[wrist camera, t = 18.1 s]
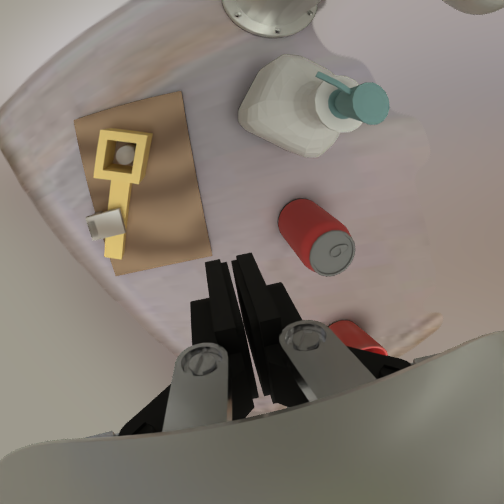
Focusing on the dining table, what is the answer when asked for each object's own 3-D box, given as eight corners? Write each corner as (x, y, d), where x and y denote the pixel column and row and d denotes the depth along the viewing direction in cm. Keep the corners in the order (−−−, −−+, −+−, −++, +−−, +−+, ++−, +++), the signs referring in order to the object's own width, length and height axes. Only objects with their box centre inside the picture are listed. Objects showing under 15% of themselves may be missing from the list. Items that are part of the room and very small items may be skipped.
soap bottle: (263, 60, 35) (342, 7, 14) (325, 95, 38) (443, 89, 18) (229, 123, 38) (276, 130, 17) (294, 155, 41) (392, 198, 21)
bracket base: (77, 120, 33) (56, 121, 27) (181, 91, 35) (179, 86, 29) (118, 271, 43) (108, 296, 37) (211, 251, 44) (215, 274, 38)
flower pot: (361, 349, 59) (383, 381, 50) (310, 363, 57) (327, 400, 49) (366, 306, 54) (393, 338, 46) (310, 321, 53) (331, 358, 44)
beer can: (326, 228, 46) (365, 263, 36) (287, 249, 46) (316, 290, 36) (311, 189, 43) (350, 215, 33) (269, 210, 44) (296, 244, 33)
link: (111, 127, 34) (100, 129, 29) (152, 133, 35) (147, 135, 31) (97, 249, 39) (87, 265, 35) (134, 254, 41) (129, 271, 36)
